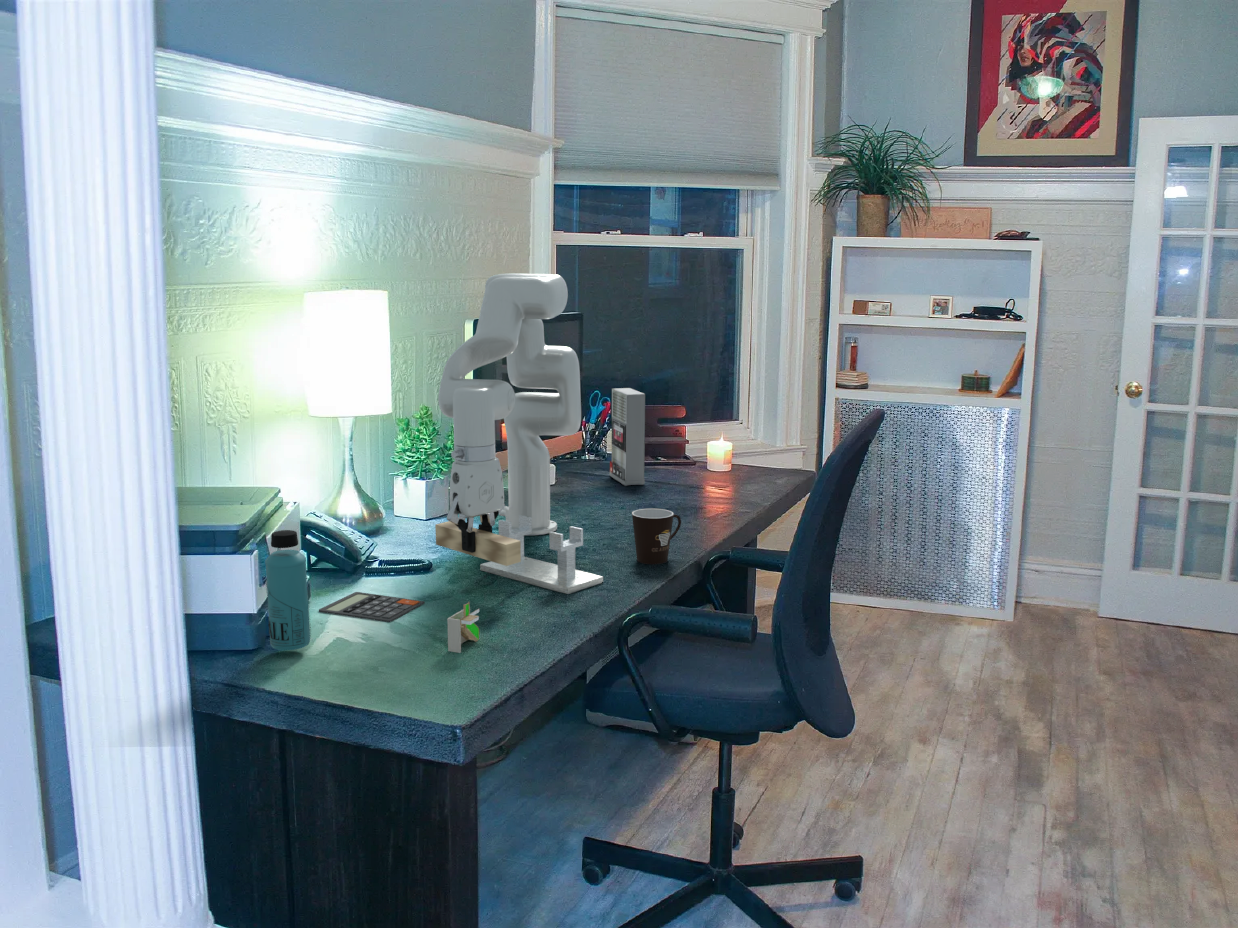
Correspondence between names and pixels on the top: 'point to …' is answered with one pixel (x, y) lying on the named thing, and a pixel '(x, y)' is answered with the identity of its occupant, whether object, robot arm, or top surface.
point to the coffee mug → (653, 534)
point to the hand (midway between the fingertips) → (477, 547)
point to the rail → (480, 544)
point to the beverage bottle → (287, 594)
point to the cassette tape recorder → (628, 436)
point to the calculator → (372, 606)
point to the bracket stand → (544, 572)
